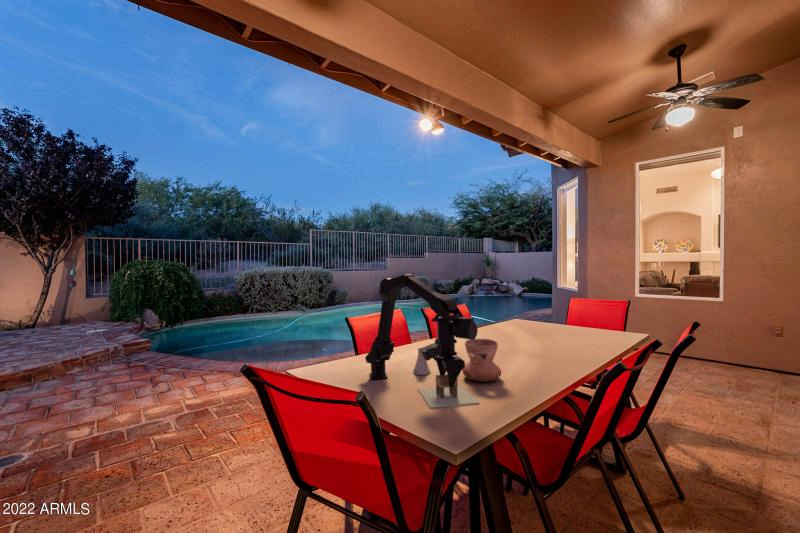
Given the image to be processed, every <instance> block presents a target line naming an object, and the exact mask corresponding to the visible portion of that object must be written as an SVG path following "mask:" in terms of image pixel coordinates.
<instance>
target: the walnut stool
mask: <svg viewBox="0 0 800 533" xmlns="http://www.w3.org/2000/svg"><path fill="white" fill-rule="evenodd" d="M458 381H459V380H458V378H457V380H456V382H455V384H454V386H453V388H450V387H449V382H448V375H447V374H445V375H440V374H438V375H435V387H436V394H437V395H438V394H439V397H440V399H442V398H444V388H447V387H449V392H450V393H453V397H457V387H458V385H459V382H458Z"/></svg>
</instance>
